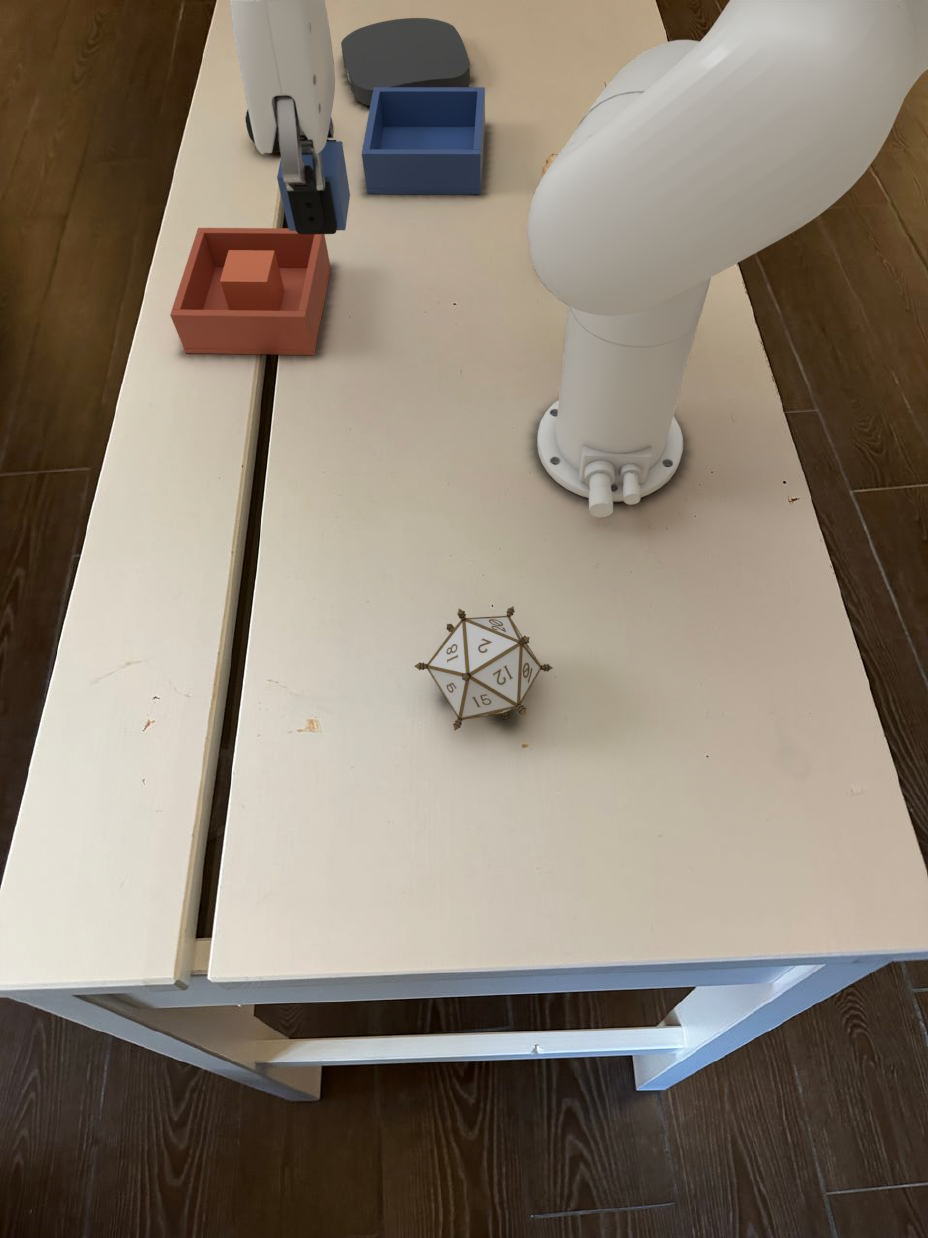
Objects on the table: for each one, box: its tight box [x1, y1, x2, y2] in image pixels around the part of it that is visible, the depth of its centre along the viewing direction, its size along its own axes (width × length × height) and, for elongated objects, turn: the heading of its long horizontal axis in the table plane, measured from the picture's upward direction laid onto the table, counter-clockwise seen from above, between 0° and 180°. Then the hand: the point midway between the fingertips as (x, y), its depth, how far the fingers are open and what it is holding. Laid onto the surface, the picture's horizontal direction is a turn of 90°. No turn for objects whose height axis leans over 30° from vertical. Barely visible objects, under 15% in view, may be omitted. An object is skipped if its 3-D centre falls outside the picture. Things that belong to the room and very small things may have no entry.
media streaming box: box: [340, 17, 471, 106], centre depth 103 cm, size 15×15×3 cm
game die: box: [413, 605, 554, 732], centre depth 59 cm, size 9×8×10 cm
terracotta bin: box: [170, 227, 332, 356], centre depth 82 cm, size 13×13×5 cm
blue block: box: [276, 140, 351, 231], centre depth 65 cm, size 4×4×4 cm
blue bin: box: [361, 86, 486, 195], centre depth 94 cm, size 13×13×5 cm
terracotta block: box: [220, 250, 284, 311], centre depth 82 cm, size 4×4×4 cm
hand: (320, 208), depth 67 cm, fingers closed on blue block, 4 cm apart
